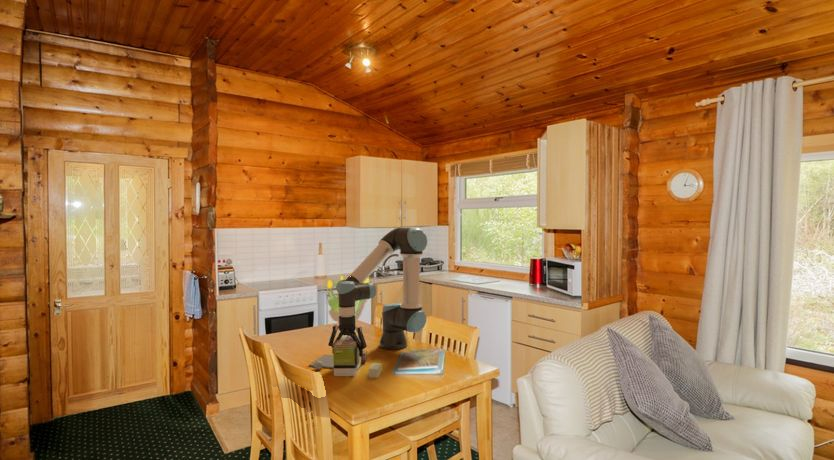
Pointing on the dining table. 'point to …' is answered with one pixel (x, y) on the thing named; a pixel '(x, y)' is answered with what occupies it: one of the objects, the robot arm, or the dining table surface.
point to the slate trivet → (325, 361)
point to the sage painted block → (375, 370)
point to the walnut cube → (363, 357)
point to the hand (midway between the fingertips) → (347, 362)
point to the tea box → (345, 357)
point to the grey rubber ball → (318, 365)
